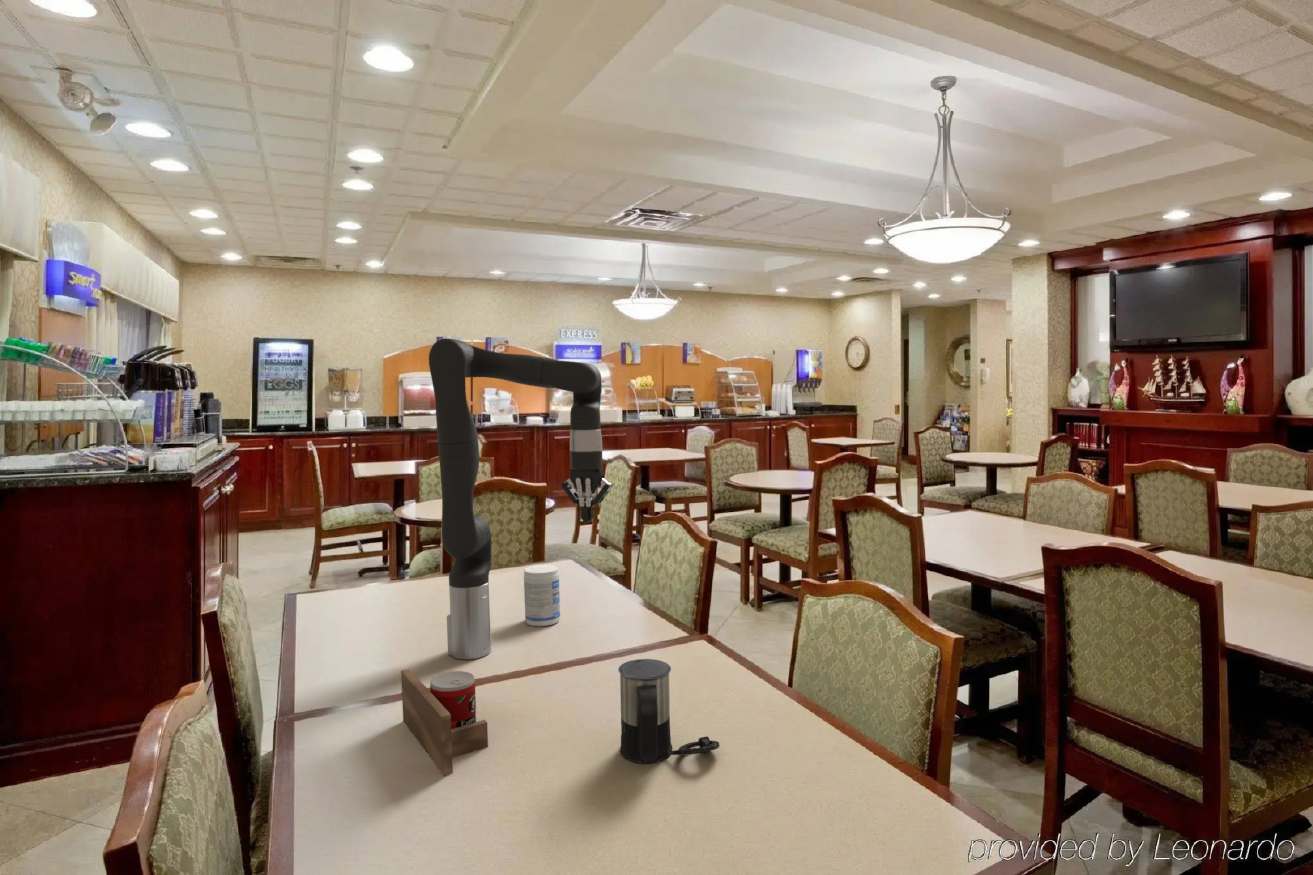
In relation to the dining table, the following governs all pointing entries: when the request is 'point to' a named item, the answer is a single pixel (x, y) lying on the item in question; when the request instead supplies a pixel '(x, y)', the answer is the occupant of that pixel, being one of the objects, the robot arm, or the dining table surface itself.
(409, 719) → the walnut stop
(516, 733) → the dining table surface
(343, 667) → the dining table surface
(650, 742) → the milk frother
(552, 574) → the supplement tub
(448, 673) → the canned food
